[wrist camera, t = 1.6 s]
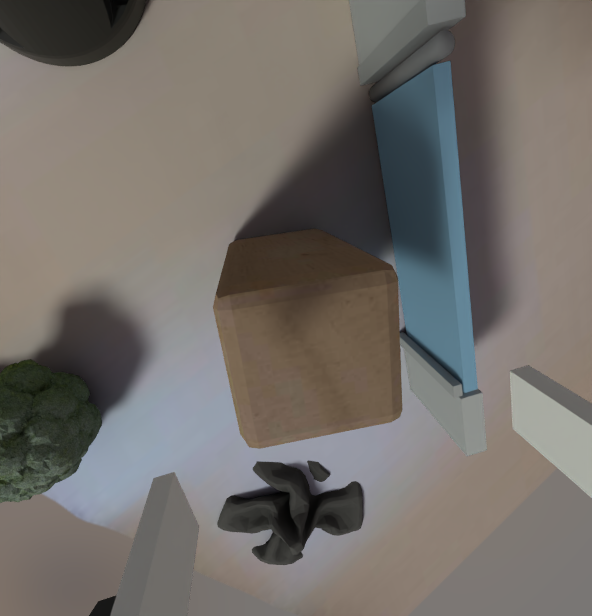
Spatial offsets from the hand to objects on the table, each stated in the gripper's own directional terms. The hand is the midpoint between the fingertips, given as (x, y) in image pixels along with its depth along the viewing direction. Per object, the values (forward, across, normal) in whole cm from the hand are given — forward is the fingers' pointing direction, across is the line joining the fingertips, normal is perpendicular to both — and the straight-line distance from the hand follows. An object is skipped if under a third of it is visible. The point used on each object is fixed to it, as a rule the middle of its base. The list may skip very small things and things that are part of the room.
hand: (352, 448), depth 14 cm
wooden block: (+26, 0, 0) cm, 26 cm away
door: (+26, +14, +3) cm, 29 cm away
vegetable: (+26, -28, -6) cm, 39 cm away
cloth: (+27, -7, -30) cm, 41 cm away
